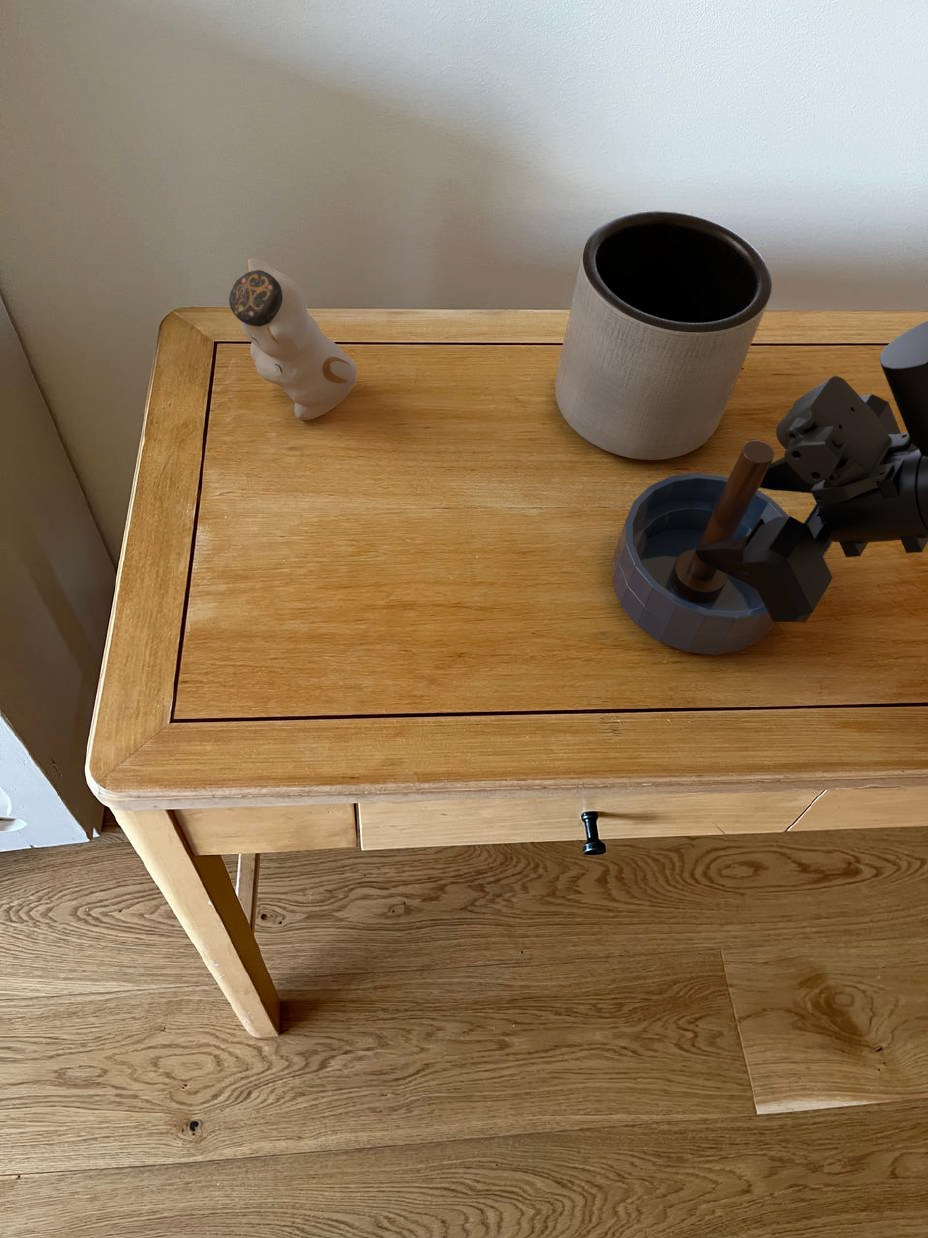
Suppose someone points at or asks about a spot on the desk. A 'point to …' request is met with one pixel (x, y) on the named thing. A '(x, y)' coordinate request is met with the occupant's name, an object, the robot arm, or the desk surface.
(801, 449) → the robot arm
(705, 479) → the bowl
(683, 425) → the planter
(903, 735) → the desk surface
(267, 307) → the figurine
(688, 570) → the stirring stick
